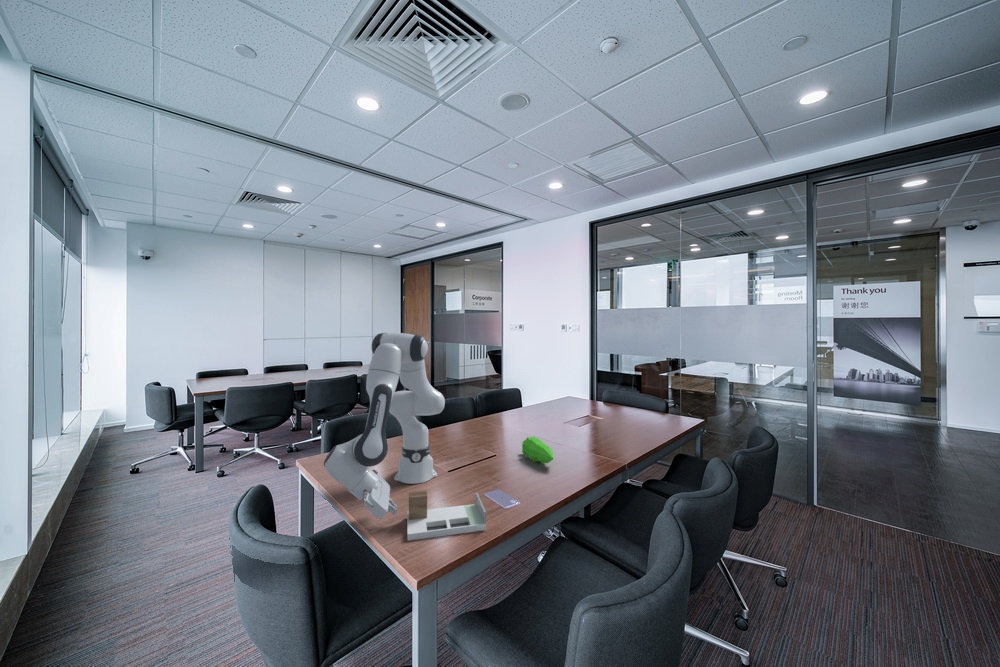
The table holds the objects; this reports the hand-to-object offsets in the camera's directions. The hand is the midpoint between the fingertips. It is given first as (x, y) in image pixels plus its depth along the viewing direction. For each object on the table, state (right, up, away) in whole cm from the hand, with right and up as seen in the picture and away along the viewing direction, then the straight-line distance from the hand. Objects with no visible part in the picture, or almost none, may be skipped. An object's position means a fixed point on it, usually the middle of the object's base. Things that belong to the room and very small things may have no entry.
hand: (396, 511), depth 125 cm
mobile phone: (+36, -5, +19) cm, 41 cm away
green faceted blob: (+54, -5, +61) cm, 82 cm away
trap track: (+17, -4, 0) cm, 17 cm away
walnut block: (+7, -2, +2) cm, 8 cm away
